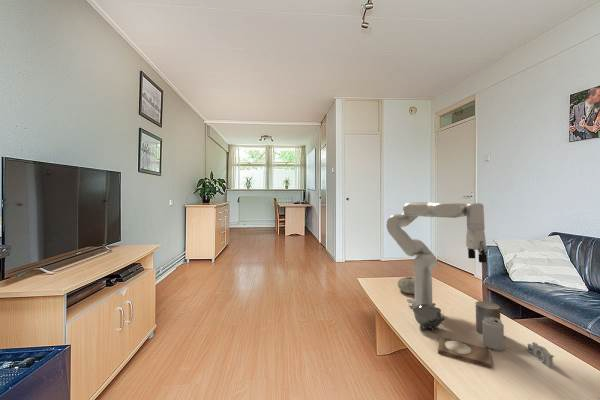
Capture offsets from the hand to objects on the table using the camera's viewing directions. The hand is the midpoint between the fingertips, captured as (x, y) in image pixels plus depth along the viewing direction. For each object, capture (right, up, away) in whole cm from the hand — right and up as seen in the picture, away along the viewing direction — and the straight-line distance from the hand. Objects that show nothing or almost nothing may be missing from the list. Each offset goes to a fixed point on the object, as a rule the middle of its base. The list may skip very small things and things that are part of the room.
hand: (477, 260), depth 131 cm
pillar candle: (0, -34, -8) cm, 35 cm away
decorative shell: (-13, -34, +48) cm, 60 cm away
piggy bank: (-26, -34, -2) cm, 43 cm away
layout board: (-22, -34, -24) cm, 47 cm away
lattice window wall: (+5, -34, -29) cm, 44 cm away
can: (-7, -34, -20) cm, 39 cm away
